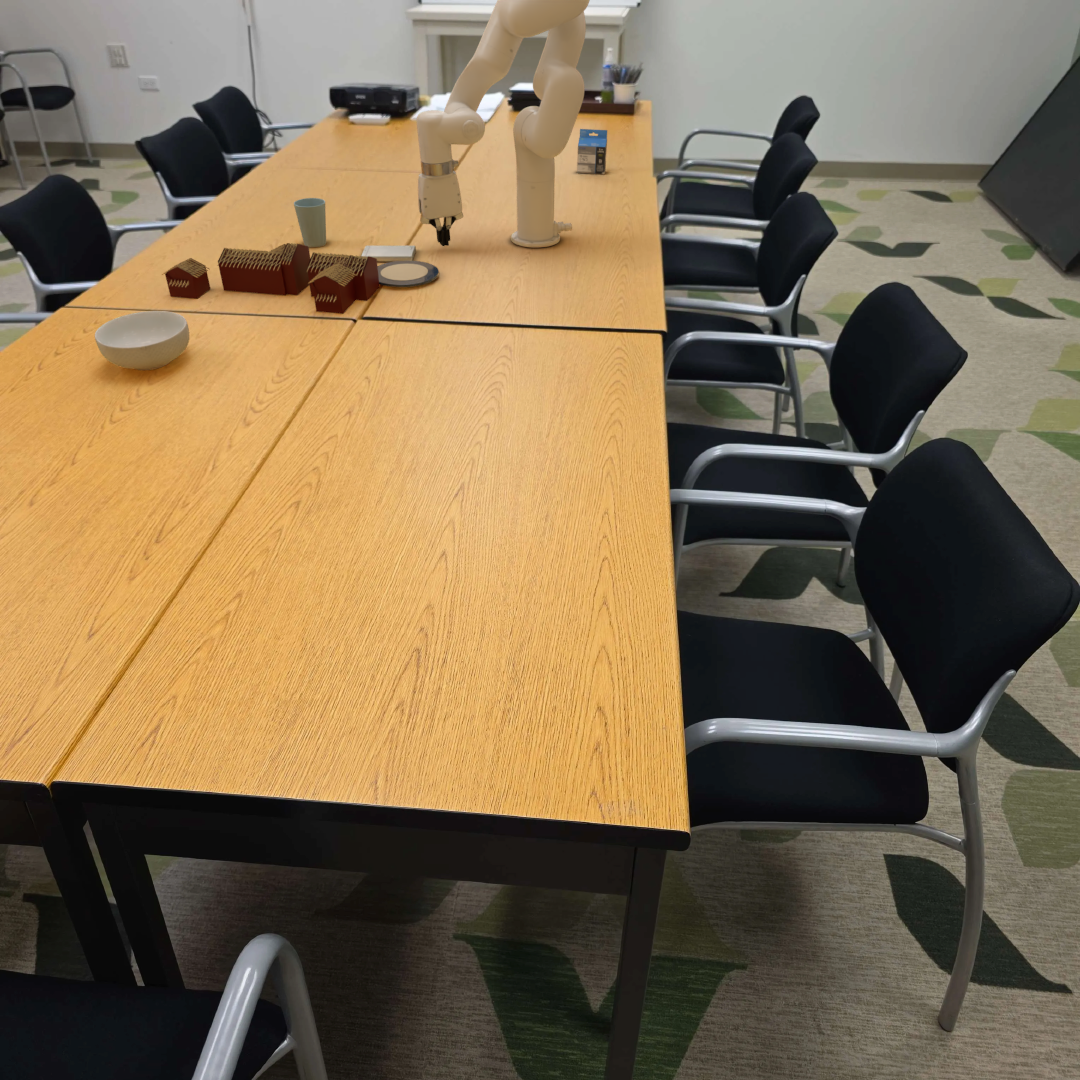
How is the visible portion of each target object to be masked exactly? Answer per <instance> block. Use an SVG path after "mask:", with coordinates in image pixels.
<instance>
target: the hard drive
mask: <svg viewBox="0 0 1080 1080" xmlns="http://www.w3.org/2000/svg"><path fill="white" fill-rule="evenodd" d="M416 248H417V247H416V245H387V244H386V245H384V244H383V245H381V244H380V245H377V244H376V245H372V244H371V245H365V246H364V249H363V250H362V253H361V255H360V256H362V257H363V256H366V257H368V256H370V257H373V258H376V259H377V262H394V261H414V258H415V256H416V252H417V249H416ZM362 259H363V258H362ZM365 259H366V258H365Z"/></svg>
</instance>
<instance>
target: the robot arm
mask: <svg viewBox="0 0 1080 1080" xmlns="http://www.w3.org/2000/svg"><path fill="white" fill-rule="evenodd" d="M589 3H590V0H496V3H495V5H494V6H493V10H492V12H491V14H490V16H489V19H488V21H487V24H486V26H485V28H484V31H483V33H482V36H481V37H480V40H479V43H478V45H477V47H476V49H475V51H474V54H473V55H472V57H471V58H470V60H469V61H468V63H467V64H466V66H465V67H464V69H463V70H462V72H461V73H460V75H459V76H458V78H457V80H456V82H455V83H454V85H453V88H452V90H451V92H450V95H449V97H448V99H447V101H446V104H445V107H444V110H439V109H430V110H424V111H422V112H419V113H418V114H417V116H416V129H417V139H418V149H419V159H420V170H421V173H419V174H418V175H417V176H418V177H417V205H418V211H419V214H420V217H419V218H420V219H419V221H420V224H424V225H431V226H432V227H433V228H435V230H436V231H435V232H436V240H437V243H439V244H440V245H441V246H442V247H445V246H446V247H448V246H449V247H450V243H449V242H450V241H451V231H450V229H451V228H452V226H453V225H454V223H455V222H456V221H458V220H460V219H463V218H464V213H463V201H462V200H463V199H462V195H461V193H462V192H461V188H460V183H459V178H458V175H457V172H456V170H455V168H456V167H459V163H460V162H459V160H458V159H457V160H456V159H453V153H452V151H453V150H452V145H458V146H471V145H475V144H476V143H479V142H480V141H481V140H482V139H483V137H484V135H485V132H486V125H485V122H484V119H483V118H482V116H481V115H480V114H479V113H478V109H479V106H480V105H481V102H482V100H483V98H484V97H485V95H486V94H487V92H488V91H489V89H491V87H492V86H493V85H495V84H496V83H498V82H500V81H501V80H503V79H504V78H505V77H507V75H508V74H509V72H510V70H511V67H512V65H513V62H514V61H515V58H516V56H517V54H518V52H519V49H520V47H521V45H522V42H523V40H524V38H525V39H527V38H533V37H535V36H537V35H541V34H542V33H545V32H547V36H546V41H545V44H544V47H543V49H542V53H541V55H540V58H539V61H538V64H537V66H536V69H535V71H534V75H533V80H532V90H533V92H534V94H535V96H536V97H537V99H539V100H540V104H539V106H537V105H530V106H527V107H524V108H522V109H521V110H520V111H519V112H518V113H517V115H516V117H515V119H514V121H513V123H514V124H513V130H512V131H513V143H514V149H515V150H514V151H515V152H514V153H515V165H516V166H515V169H516V171H515V172H516V230H515V231H514V232H513V233H512V234H511V235H510V240H511V242H512V243H513V244H514V245H517V246H519V247H523V248H546V247H551V246H554V245H557V244H558V243H559V242H560V241H561V236H560V235H561V232H570V231H572V230H573V223H572V222H565V223H564V221H558V222H557V221H556V220H555V186H556V185H555V180H556V178H555V177H556V163H555V161H556V160H555V158H556V157H557V156H559V155H560V154H561V153H562V152H564V150H565V148H566V146H567V144H568V142H569V140H570V137H571V135H572V132H573V129H574V128H575V127H574V126H575V125H576V121H577V119H578V116H579V113H580V110H581V107H582V105H583V102H584V97H585V81H584V78H583V75H582V73H580V71H579V70H578V69H577V67H578V63H579V60H580V57H581V53H582V50H583V47H584V43H585V38H586V32H587V24H586V17H585V16H586V15H585V10H586V9H587V8H588V6H589ZM442 218H443V221H442V223H441V219H442Z"/></svg>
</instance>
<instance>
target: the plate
mask: <svg viewBox="0 0 1080 1080" xmlns="http://www.w3.org/2000/svg"><path fill="white" fill-rule="evenodd" d="M377 266H378V276H379V286H385V287H390V288H391V287H392V288H413V287H418V286H423V285H426V284H429V283H432V282H434V281H435V280H436V279H437V278H439V275H440V271H439V268H438V267H437V266H435V265H434V264H432V263H429V262H425V261H420V260H413V261H388V262H386V263H382V264H378V265H377Z"/></svg>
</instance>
